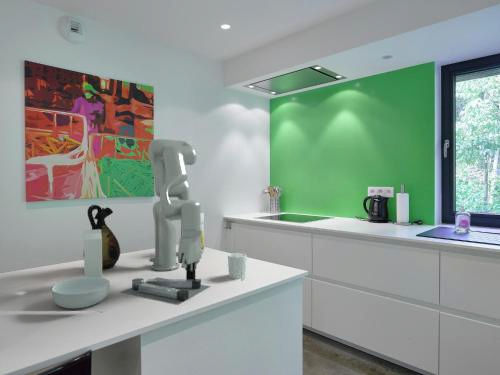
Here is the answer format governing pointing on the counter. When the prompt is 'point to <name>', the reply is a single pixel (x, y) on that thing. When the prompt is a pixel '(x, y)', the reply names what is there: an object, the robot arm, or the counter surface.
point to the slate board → (161, 298)
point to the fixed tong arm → (164, 291)
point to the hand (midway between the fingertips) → (190, 279)
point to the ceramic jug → (105, 236)
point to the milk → (93, 253)
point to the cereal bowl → (80, 292)
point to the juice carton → (202, 231)
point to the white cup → (237, 265)
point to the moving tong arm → (168, 283)
